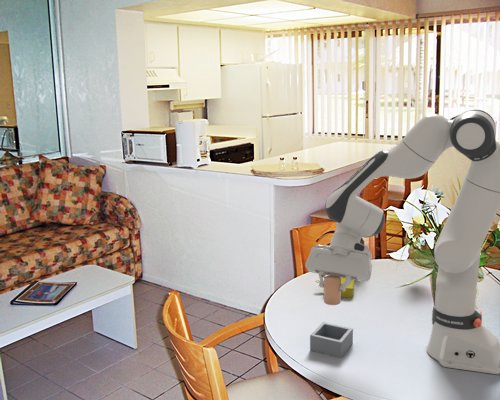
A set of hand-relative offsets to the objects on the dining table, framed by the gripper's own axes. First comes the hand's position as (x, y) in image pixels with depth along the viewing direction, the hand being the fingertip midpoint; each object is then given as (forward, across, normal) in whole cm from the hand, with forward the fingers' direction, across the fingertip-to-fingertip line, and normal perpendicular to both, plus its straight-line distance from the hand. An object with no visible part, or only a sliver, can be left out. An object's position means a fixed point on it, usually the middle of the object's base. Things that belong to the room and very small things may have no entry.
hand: (331, 288), depth 165 cm
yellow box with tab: (-15, -15, +44) cm, 49 cm away
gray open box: (+13, 0, +14) cm, 19 cm away
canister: (+3, 0, +4) cm, 4 cm away
